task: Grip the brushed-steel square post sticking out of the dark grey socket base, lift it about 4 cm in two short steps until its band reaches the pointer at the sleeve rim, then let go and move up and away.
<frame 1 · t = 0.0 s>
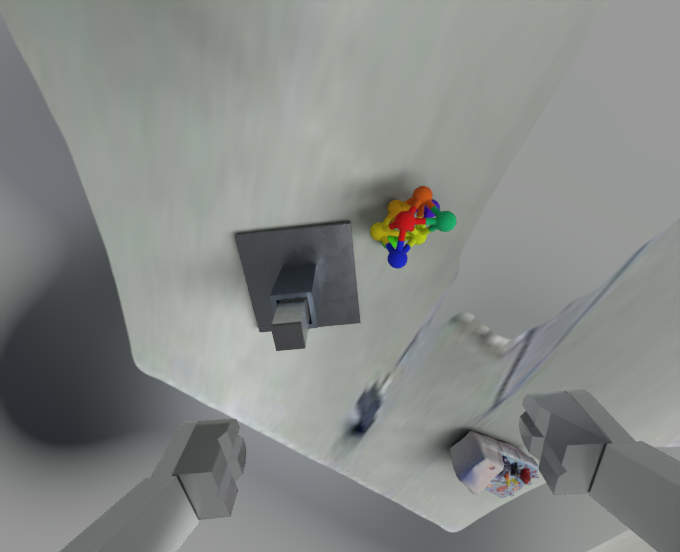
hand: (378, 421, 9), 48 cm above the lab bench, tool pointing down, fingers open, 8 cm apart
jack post: (295, 306, 51), point 10 cm above the lab bench, slide at 0.0 cm
dark grey socket base: (302, 278, 60), on the lab bench
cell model: (484, 448, 81), on the lab bench
molecular model: (402, 215, 56), on the lab bench
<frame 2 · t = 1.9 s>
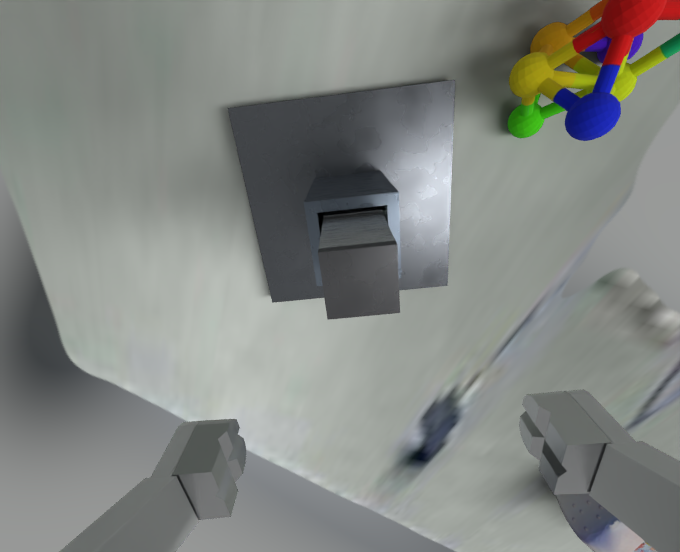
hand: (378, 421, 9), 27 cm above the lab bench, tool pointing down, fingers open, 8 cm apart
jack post: (354, 234, 24), point 10 cm above the lab bench, slide at 0.0 cm
dark grey socket base: (350, 203, 34), on the lab bench
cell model: (600, 484, 55), on the lab bench
molecular model: (550, 69, 29), on the lab bench
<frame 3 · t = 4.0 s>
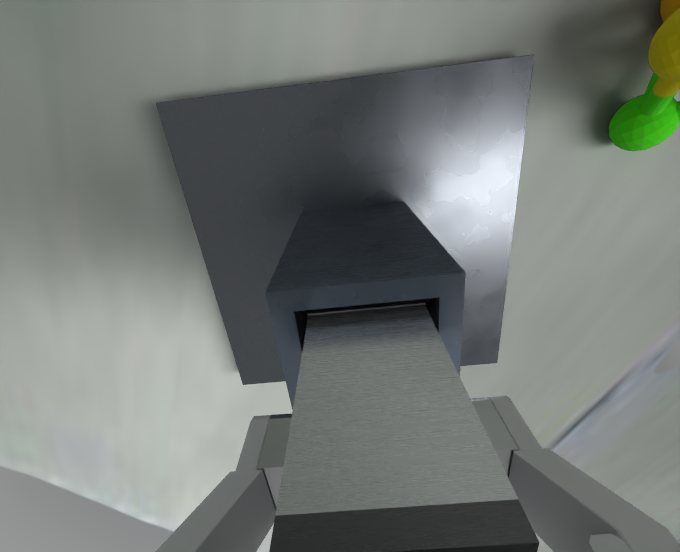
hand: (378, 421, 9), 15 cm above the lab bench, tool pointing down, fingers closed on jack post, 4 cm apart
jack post: (367, 334, 13), point 10 cm above the lab bench, slide at 0.0 cm, touching gripper
dark grey socket base: (355, 248, 22), on the lab bench
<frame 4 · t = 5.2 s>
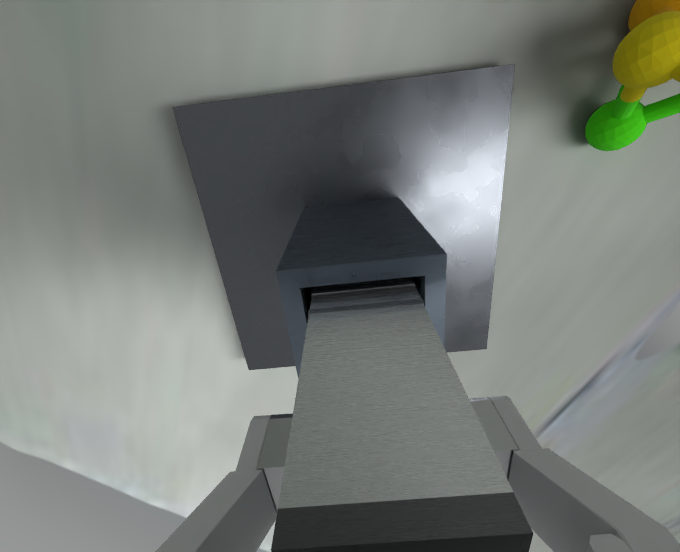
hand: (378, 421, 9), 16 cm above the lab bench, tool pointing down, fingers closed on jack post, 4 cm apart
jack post: (366, 334, 13), point 12 cm above the lab bench, slide at 1.7 cm, touching gripper
dark grey socket base: (354, 241, 24), on the lab bench
molecular model: (651, 50, 19), on the lab bench
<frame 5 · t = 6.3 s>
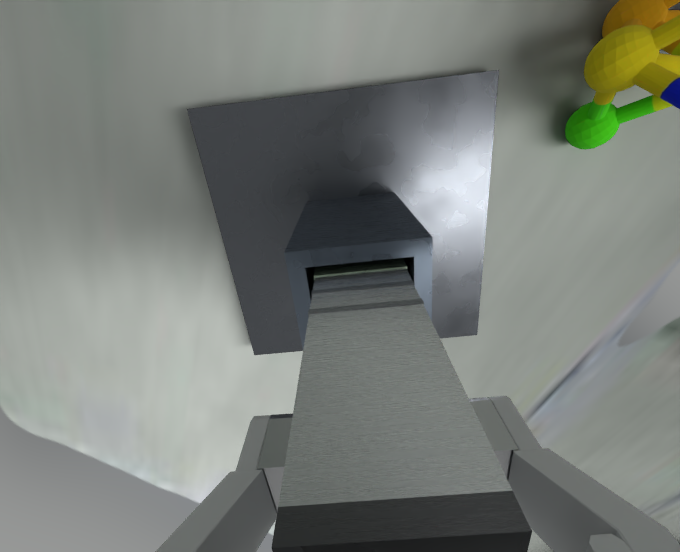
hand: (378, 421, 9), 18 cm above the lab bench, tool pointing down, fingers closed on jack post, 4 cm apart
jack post: (366, 333, 13), point 14 cm above the lab bench, slide at 3.7 cm, touching gripper
dark grey socket base: (353, 233, 26), on the lab bench
molecular model: (625, 57, 21), on the lab bench
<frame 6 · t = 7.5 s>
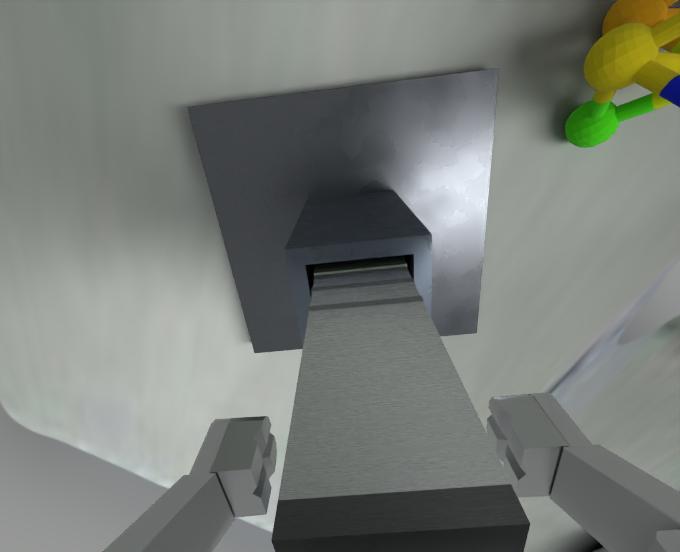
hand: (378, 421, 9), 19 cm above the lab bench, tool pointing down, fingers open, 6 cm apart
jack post: (366, 331, 13), point 14 cm above the lab bench, slide at 3.7 cm
dark grey socket base: (353, 231, 26), on the lab bench
molecular model: (624, 55, 21), on the lab bench
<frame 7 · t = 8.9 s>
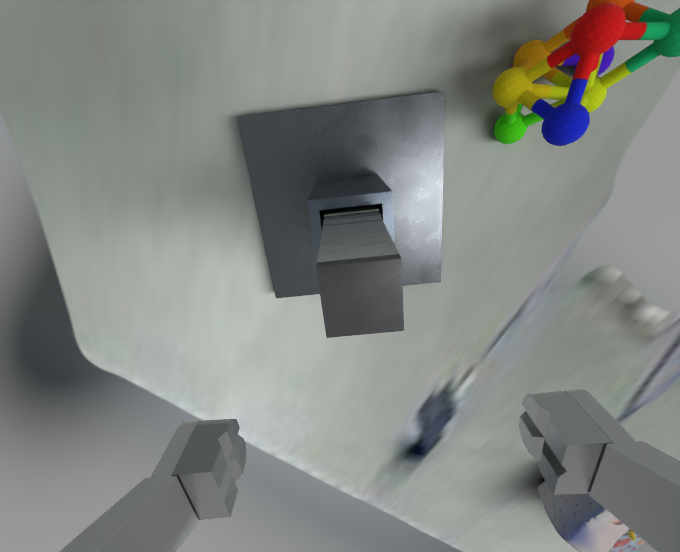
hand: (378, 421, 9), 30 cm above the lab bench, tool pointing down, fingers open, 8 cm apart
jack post: (354, 245, 23), point 14 cm above the lab bench, slide at 3.7 cm
dark grey socket base: (349, 205, 36), on the lab bench
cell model: (585, 483, 57), on the lab bench
molecular model: (532, 81, 32), on the lab bench
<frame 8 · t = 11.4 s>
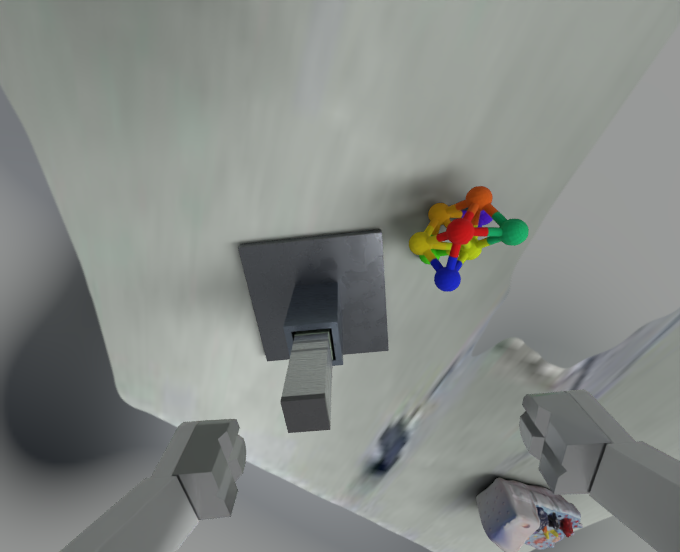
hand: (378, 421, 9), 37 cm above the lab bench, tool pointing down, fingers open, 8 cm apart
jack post: (312, 357, 37), point 14 cm above the lab bench, slide at 3.7 cm
dark grey socket base: (319, 298, 50), on the lab bench
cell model: (515, 493, 71), on the lab bench
molecular model: (444, 222, 45), on the lab bench
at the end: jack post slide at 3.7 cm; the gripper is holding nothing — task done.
